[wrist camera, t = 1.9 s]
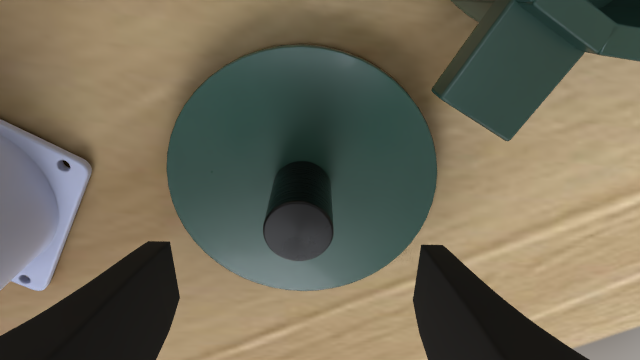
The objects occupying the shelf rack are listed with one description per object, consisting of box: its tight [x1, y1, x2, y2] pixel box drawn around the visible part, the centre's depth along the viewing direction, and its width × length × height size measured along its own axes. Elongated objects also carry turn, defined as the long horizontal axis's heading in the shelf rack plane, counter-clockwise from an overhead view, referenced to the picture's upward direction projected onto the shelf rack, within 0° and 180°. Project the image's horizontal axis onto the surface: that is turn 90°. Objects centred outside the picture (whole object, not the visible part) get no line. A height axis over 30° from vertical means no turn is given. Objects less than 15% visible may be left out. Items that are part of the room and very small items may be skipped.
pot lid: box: [167, 44, 437, 291], centre depth 15 cm, size 11×11×5 cm
